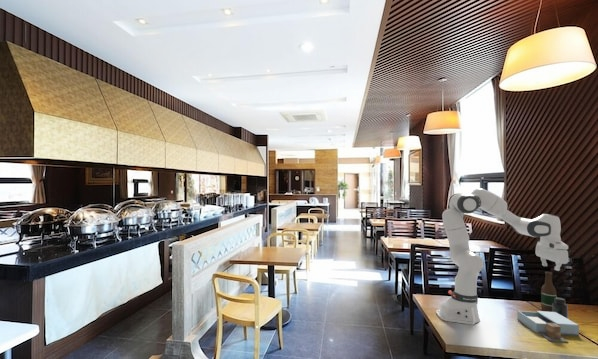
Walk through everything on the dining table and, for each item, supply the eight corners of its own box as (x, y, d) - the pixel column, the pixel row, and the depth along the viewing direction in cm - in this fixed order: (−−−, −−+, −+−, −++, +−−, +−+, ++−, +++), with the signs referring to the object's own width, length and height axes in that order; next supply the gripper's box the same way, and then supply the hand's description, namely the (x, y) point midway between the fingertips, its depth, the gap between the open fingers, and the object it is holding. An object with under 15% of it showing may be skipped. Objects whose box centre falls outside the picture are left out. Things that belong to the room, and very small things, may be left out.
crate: (536, 333, 154) (536, 322, 154) (517, 319, 170) (517, 309, 170) (578, 335, 152) (578, 324, 152) (555, 322, 168) (555, 312, 168)
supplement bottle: (571, 322, 167) (570, 301, 167) (557, 321, 168) (556, 300, 169) (562, 317, 174) (562, 297, 174) (549, 316, 175) (549, 295, 175)
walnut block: (551, 338, 147) (551, 326, 148) (546, 334, 151) (546, 322, 152) (560, 339, 147) (560, 326, 147) (554, 335, 151) (554, 323, 151)
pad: (550, 341, 146) (550, 340, 146) (539, 333, 154) (539, 332, 154) (568, 342, 145) (568, 341, 145) (555, 334, 153) (555, 333, 153)
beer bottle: (553, 314, 177) (553, 274, 178) (538, 310, 184) (537, 271, 185) (559, 312, 181) (559, 273, 182) (544, 307, 188) (544, 269, 189)
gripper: (532, 239, 176) (532, 263, 176) (557, 246, 156) (558, 272, 156) (543, 240, 176) (543, 263, 175) (571, 246, 155) (571, 273, 155)
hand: (550, 268), depth 165 cm, fingers open, 8 cm apart
